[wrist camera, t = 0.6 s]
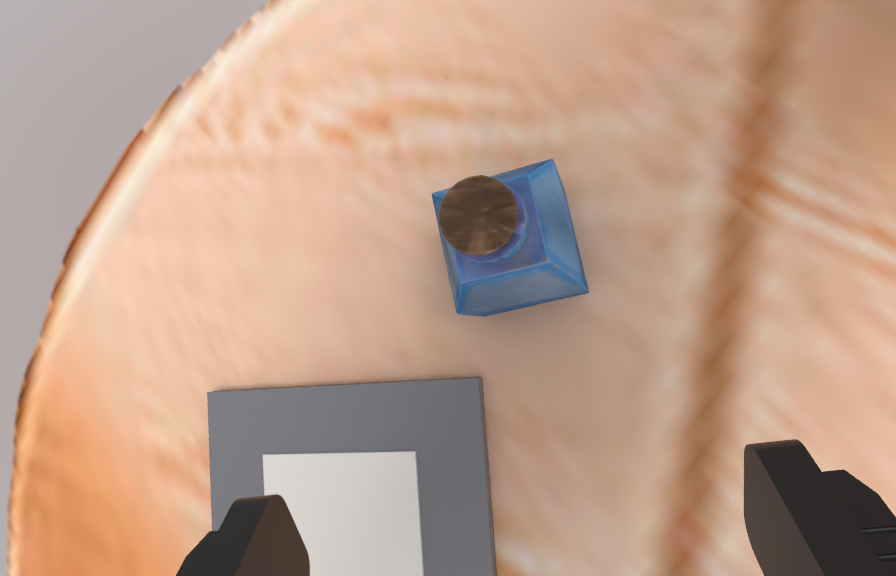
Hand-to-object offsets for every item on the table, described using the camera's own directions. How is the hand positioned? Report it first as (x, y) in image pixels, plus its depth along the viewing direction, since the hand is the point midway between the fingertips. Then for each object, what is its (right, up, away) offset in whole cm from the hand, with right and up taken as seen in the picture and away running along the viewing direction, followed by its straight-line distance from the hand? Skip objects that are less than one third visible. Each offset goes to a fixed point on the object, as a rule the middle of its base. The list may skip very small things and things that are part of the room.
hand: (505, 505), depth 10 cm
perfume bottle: (+3, +6, +25) cm, 26 cm away
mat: (-7, -11, +26) cm, 29 cm away
